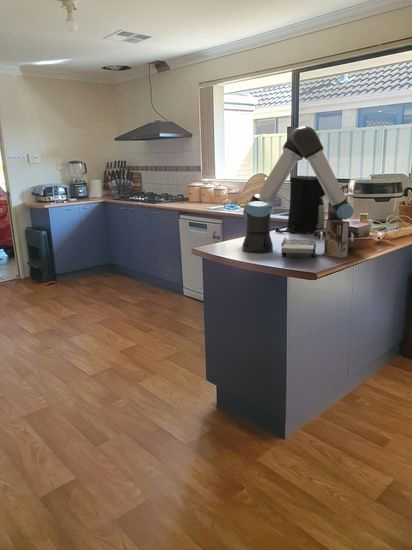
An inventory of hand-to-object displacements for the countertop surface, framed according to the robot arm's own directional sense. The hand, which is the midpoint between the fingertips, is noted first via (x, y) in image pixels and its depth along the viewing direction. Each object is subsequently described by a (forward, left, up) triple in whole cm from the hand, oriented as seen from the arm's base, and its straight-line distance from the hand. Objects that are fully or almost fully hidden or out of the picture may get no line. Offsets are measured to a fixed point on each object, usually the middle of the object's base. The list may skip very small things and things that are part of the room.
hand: (336, 237), depth 196 cm
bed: (-17, +1, -9) cm, 19 cm away
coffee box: (0, +2, -9) cm, 10 cm away
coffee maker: (-19, +73, -9) cm, 76 cm away
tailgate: (-17, -7, -3) cm, 18 cm away
